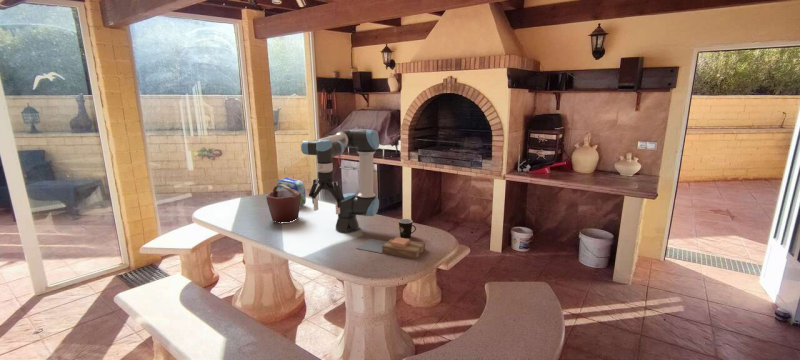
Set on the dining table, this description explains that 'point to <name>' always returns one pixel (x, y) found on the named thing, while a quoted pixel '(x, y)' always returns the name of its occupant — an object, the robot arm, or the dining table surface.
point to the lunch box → (293, 187)
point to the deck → (404, 249)
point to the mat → (372, 245)
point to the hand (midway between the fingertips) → (326, 211)
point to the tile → (400, 242)
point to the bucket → (284, 204)
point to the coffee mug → (405, 228)
